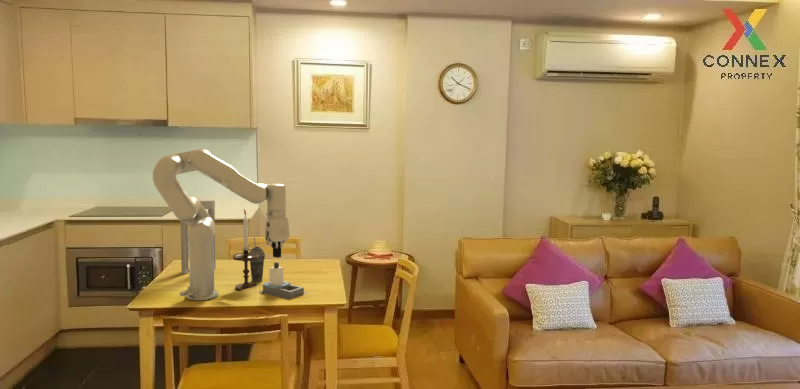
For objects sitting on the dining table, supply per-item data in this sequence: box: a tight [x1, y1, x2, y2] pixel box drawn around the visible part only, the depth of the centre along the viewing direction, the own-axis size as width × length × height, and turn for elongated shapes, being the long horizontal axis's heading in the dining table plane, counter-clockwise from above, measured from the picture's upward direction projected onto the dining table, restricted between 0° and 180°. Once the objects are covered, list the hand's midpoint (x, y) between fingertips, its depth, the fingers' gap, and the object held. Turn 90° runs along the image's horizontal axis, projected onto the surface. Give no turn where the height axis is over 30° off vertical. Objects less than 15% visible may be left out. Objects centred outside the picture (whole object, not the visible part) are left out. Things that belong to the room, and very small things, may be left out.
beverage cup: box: [248, 236, 266, 283], centre depth 259 cm, size 7×7×20 cm
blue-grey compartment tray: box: [259, 280, 309, 300], centre depth 239 cm, size 12×17×4 cm
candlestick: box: [232, 208, 259, 291], centre depth 246 cm, size 11×11×35 cm
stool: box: [179, 196, 217, 275], centre depth 272 cm, size 16×16×35 cm
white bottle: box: [269, 262, 284, 286], centre depth 241 cm, size 4×4×12 cm
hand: (277, 256), depth 240 cm, fingers closed
